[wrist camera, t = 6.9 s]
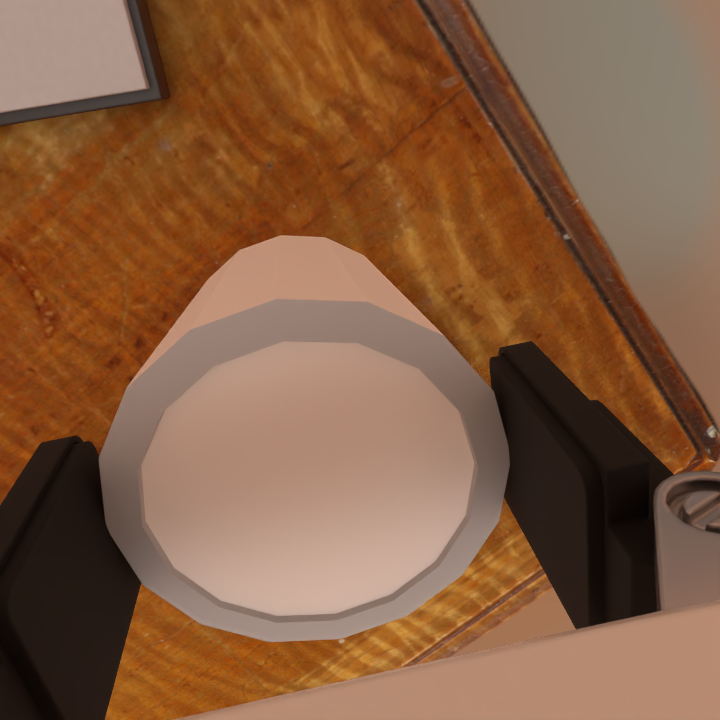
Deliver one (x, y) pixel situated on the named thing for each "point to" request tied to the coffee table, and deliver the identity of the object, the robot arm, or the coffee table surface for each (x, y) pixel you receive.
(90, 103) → the scale
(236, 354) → the shot glass
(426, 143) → the coffee table surface
